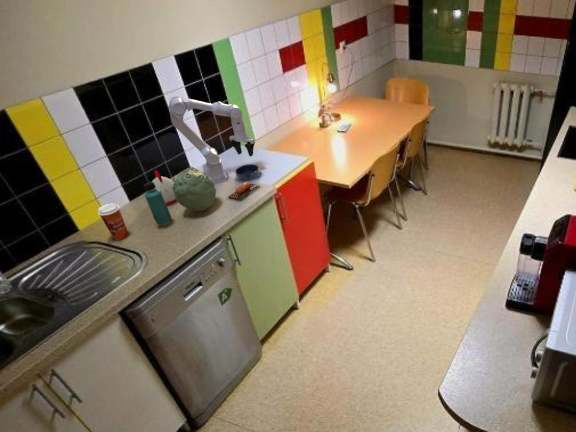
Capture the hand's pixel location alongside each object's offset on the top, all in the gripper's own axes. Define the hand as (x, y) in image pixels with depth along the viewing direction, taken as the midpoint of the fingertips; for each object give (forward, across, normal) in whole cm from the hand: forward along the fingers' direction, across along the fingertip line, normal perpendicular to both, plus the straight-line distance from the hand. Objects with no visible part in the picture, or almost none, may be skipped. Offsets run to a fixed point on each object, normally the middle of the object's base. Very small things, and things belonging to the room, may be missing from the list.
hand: (245, 154), depth 217 cm
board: (+9, -14, +20) cm, 26 cm away
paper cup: (+10, +11, +68) cm, 70 cm away
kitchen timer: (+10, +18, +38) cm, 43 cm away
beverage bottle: (+10, +1, +54) cm, 55 cm away
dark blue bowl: (+9, -4, +6) cm, 12 cm away
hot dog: (+8, -14, +20) cm, 26 cm away
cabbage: (+10, -5, +39) cm, 40 cm away
